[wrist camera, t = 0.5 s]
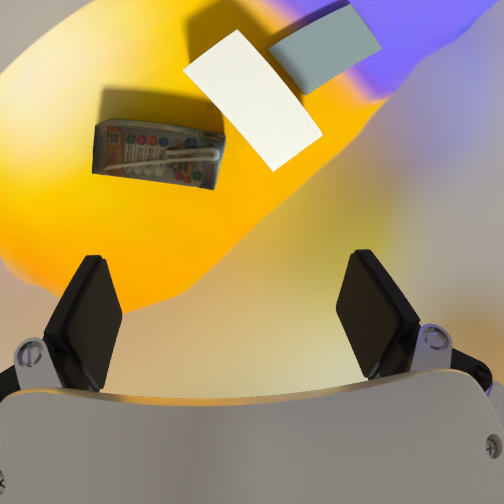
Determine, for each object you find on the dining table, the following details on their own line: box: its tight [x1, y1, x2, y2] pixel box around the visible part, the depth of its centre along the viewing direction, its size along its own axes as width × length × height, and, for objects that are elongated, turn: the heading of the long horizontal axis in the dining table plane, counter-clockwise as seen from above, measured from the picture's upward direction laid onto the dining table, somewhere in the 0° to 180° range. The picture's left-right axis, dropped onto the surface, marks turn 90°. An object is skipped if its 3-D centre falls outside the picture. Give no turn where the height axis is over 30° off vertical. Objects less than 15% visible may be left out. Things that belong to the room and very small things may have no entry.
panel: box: [267, 4, 382, 95], centre depth 32 cm, size 9×16×2 cm, turn 128°
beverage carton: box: [92, 119, 226, 190], centre depth 37 cm, size 8×19×7 cm, turn 76°
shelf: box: [183, 30, 323, 172], centre depth 33 cm, size 17×8×9 cm, turn 39°
